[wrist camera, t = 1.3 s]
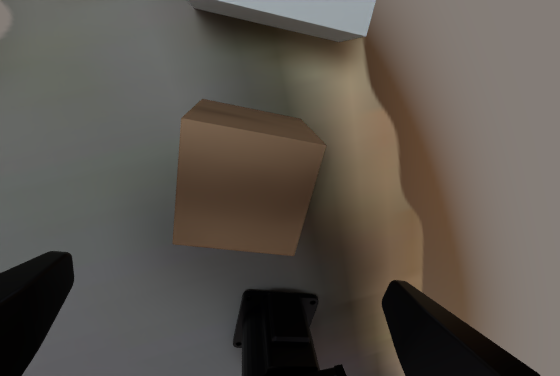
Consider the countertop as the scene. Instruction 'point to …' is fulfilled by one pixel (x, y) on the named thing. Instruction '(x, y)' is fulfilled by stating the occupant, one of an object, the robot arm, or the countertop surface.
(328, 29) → the riser block
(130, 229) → the countertop surface
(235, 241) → the walnut cube
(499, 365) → the robot arm
